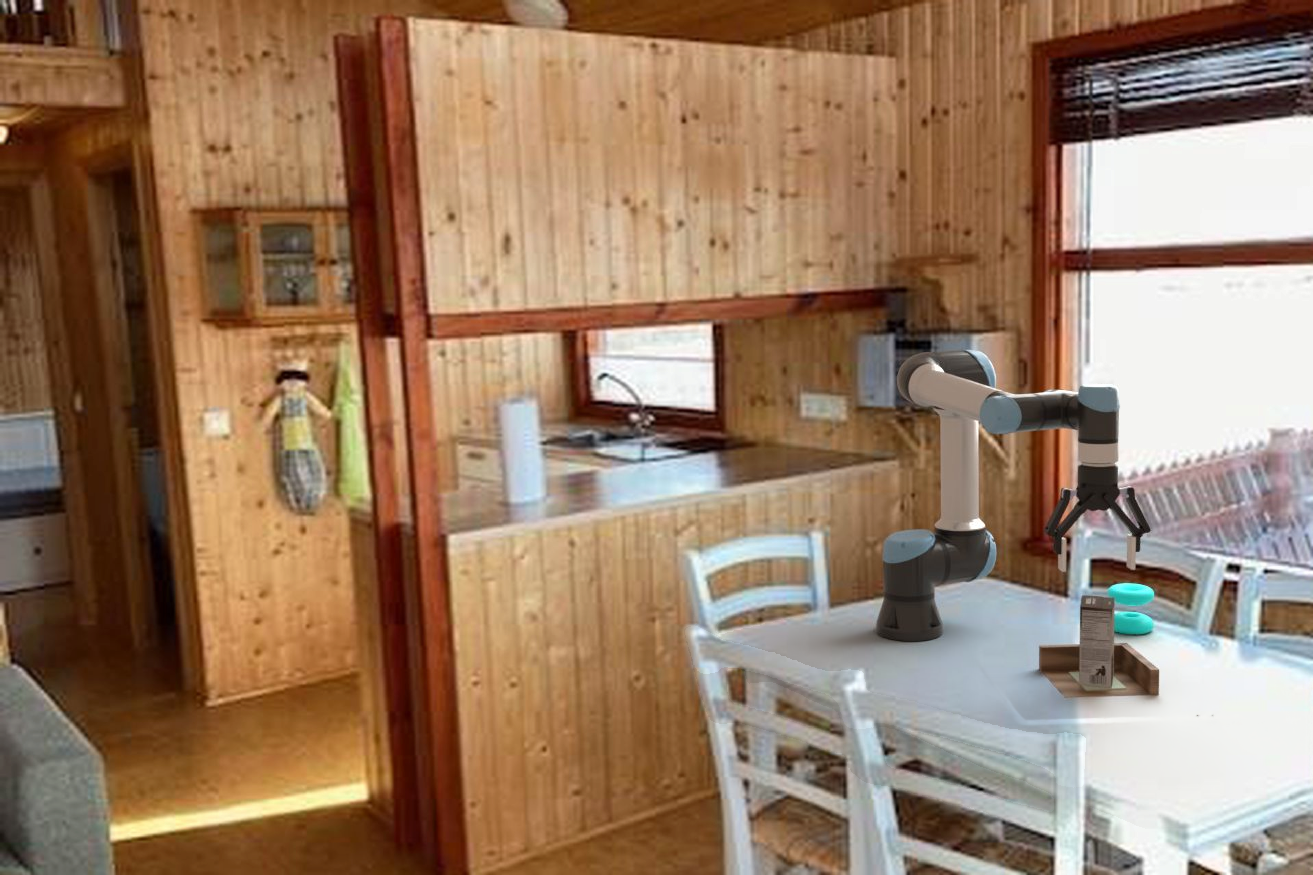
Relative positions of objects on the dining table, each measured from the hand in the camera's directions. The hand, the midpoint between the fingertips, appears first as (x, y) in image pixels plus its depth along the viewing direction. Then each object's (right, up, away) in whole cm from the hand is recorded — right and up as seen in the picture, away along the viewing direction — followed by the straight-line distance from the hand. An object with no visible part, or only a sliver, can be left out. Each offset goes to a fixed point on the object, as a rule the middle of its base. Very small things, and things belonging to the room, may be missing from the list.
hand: (1096, 569), depth 257 cm
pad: (+1, -23, +3) cm, 23 cm away
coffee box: (+1, -23, +3) cm, 23 cm away
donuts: (+21, -18, +40) cm, 49 cm away
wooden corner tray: (+1, -23, +3) cm, 24 cm away
